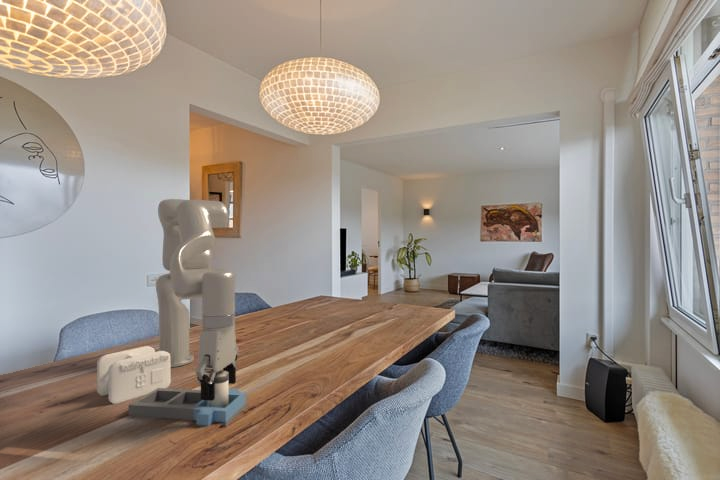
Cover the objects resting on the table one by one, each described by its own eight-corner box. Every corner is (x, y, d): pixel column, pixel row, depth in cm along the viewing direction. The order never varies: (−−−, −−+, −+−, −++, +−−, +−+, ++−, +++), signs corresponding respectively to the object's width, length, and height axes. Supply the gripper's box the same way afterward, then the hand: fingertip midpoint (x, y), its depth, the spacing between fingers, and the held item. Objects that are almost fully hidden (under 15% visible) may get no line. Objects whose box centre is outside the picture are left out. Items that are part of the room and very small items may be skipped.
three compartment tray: (121, 423, 83) (121, 408, 83) (163, 397, 97) (163, 384, 97) (221, 431, 79) (221, 415, 79) (249, 403, 93) (249, 389, 93)
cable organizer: (155, 381, 108) (155, 343, 108) (171, 390, 102) (171, 349, 102) (96, 399, 96) (96, 356, 96) (110, 410, 90) (110, 364, 90)
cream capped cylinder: (205, 414, 85) (205, 376, 85) (215, 406, 89) (215, 370, 89) (222, 415, 84) (222, 377, 84) (232, 407, 88) (232, 371, 89)
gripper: (223, 313, 96) (223, 377, 96) (182, 329, 79) (182, 406, 79) (249, 314, 95) (249, 378, 95) (213, 330, 78) (213, 408, 78)
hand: (219, 391), depth 87 cm, fingers open, 9 cm apart
